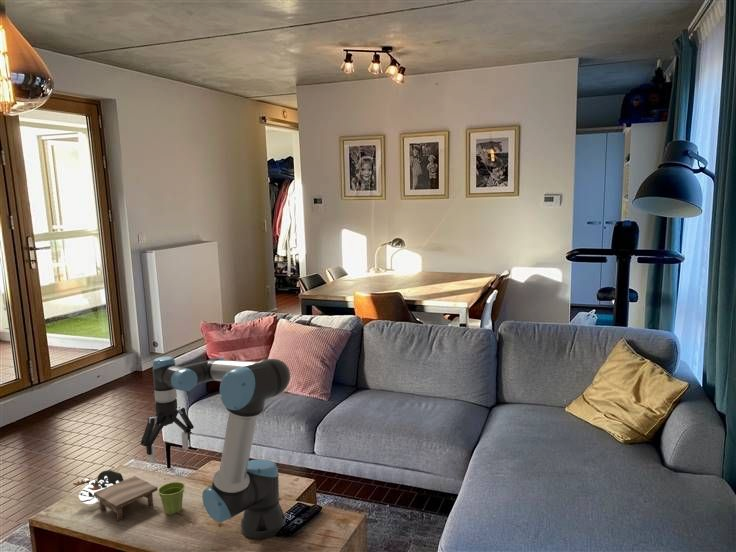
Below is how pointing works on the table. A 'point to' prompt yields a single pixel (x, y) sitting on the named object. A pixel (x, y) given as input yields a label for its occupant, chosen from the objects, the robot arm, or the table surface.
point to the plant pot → (172, 496)
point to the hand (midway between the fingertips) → (169, 455)
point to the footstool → (125, 494)
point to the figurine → (98, 485)
